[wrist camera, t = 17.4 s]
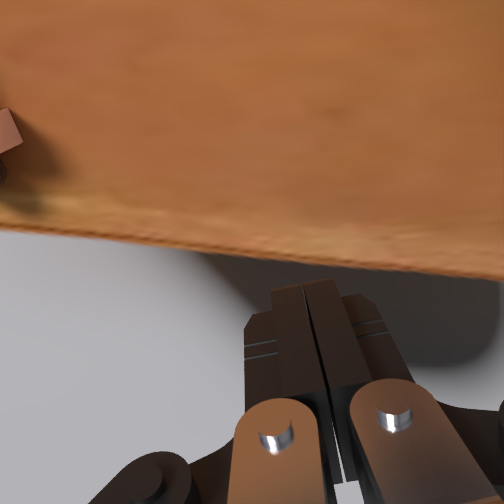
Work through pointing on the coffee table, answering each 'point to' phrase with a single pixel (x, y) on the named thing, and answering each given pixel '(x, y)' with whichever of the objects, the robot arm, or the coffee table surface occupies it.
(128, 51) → the coffee table surface
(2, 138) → the salmon pink block
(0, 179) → the arm
